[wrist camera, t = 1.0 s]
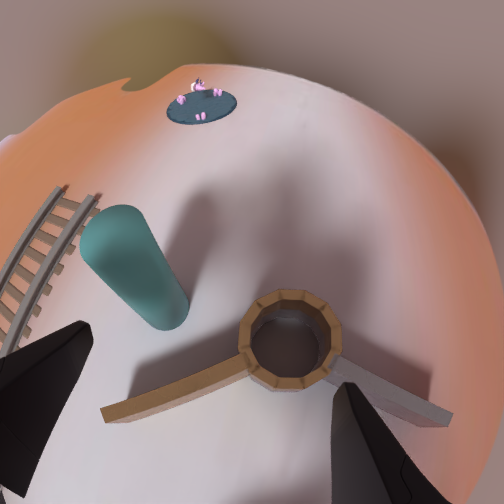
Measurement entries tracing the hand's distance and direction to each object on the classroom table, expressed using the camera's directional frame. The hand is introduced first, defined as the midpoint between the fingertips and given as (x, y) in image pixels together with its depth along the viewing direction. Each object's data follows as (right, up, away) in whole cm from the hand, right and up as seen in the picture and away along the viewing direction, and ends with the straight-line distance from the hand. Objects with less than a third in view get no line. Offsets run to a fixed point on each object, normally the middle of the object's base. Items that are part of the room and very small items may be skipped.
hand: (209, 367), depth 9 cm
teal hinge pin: (-7, -1, +17) cm, 18 cm away
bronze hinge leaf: (0, -7, +13) cm, 15 cm away
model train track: (-27, -2, +18) cm, 33 cm away
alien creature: (-7, +28, +35) cm, 45 cm away
